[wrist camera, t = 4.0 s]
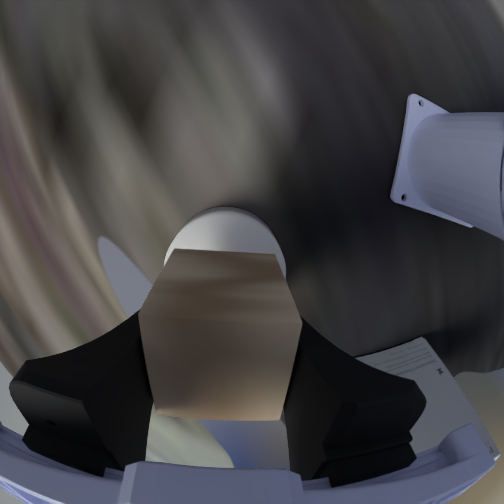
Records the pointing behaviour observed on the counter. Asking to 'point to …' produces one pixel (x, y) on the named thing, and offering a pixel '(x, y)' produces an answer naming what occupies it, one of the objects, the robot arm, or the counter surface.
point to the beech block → (220, 336)
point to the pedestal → (227, 234)
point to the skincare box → (431, 394)
